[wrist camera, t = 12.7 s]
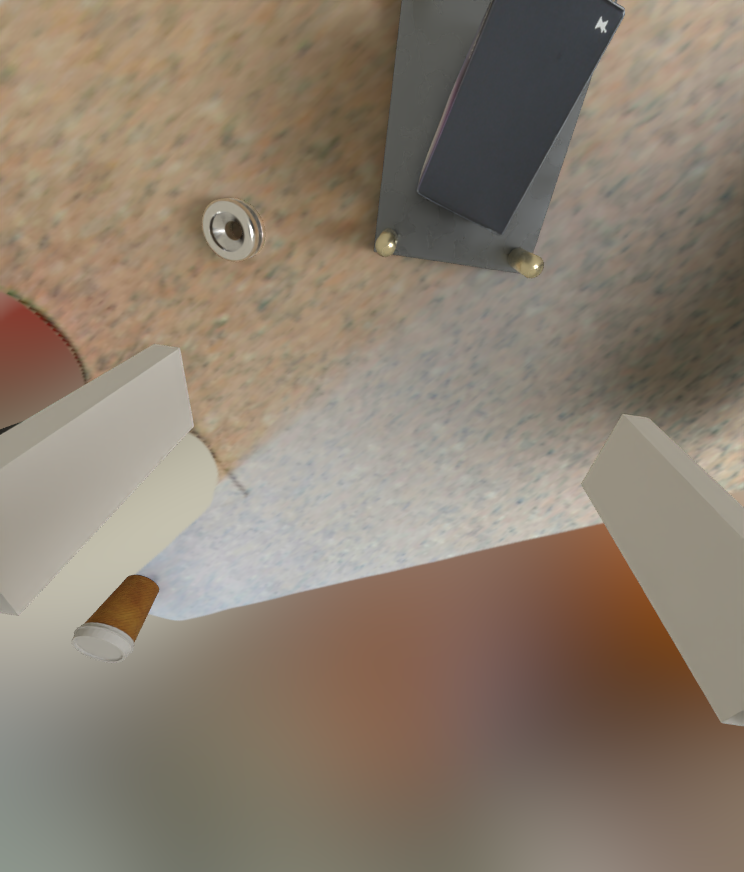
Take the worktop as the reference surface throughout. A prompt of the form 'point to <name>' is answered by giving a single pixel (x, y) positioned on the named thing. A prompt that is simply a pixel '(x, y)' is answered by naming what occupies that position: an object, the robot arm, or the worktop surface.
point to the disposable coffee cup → (117, 621)
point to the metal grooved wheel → (220, 232)
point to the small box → (513, 103)
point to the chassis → (411, 139)
